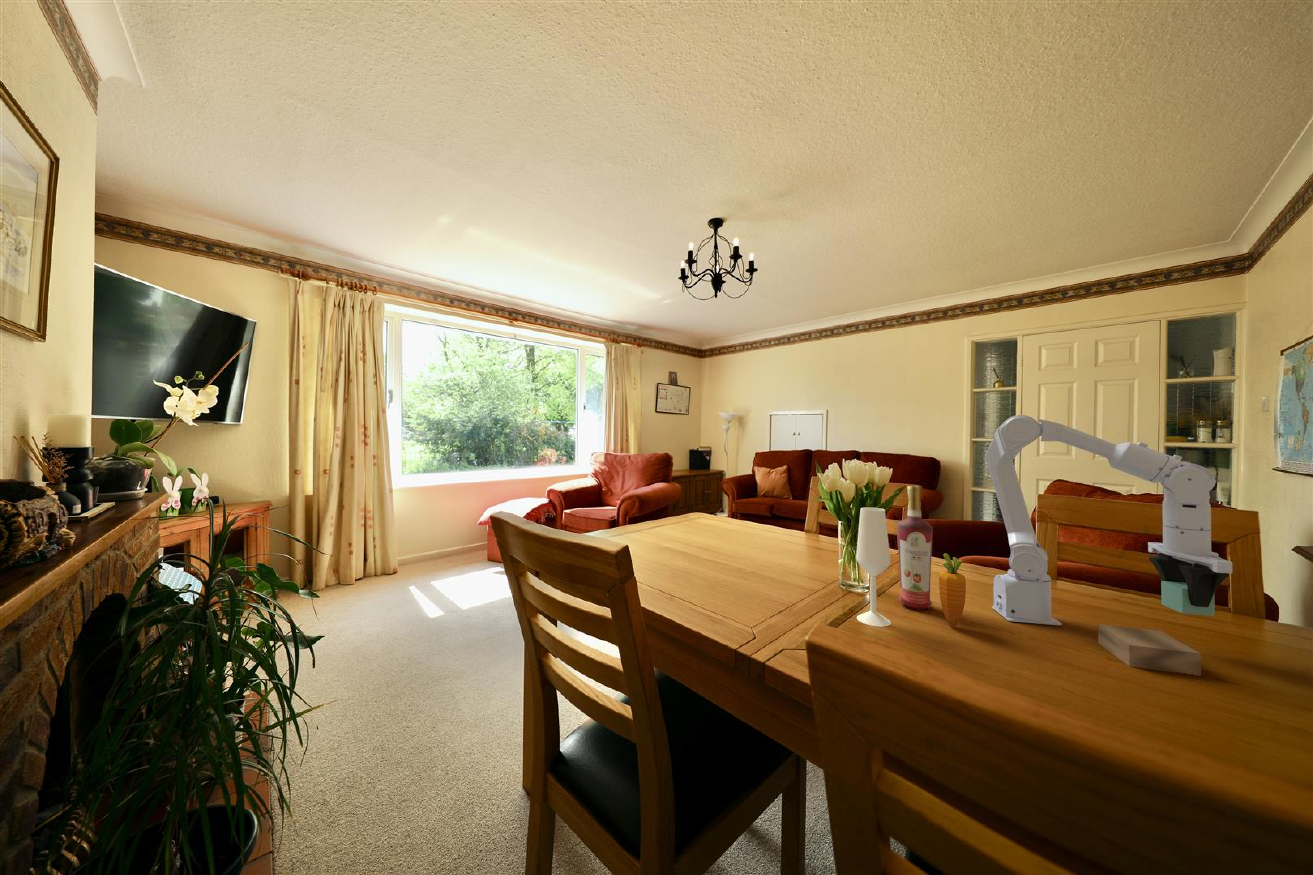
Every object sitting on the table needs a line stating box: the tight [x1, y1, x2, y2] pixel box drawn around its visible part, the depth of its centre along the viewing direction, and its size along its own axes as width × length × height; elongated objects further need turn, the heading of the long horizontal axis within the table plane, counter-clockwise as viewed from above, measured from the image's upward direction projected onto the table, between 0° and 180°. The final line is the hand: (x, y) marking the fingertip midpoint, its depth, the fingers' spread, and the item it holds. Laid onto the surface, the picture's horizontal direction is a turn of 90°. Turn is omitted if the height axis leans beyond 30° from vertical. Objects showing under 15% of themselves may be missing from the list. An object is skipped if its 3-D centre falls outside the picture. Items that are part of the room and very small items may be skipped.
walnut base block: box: [1097, 623, 1202, 677], centre depth 78 cm, size 9×9×4 cm
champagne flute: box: [855, 506, 892, 628], centre depth 95 cm, size 7×7×24 cm
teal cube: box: [1160, 580, 1216, 617], centre depth 81 cm, size 4×4×4 cm
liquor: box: [896, 485, 934, 611], centre depth 103 cm, size 7×7×28 cm
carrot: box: [938, 553, 967, 629], centre depth 91 cm, size 5×5×15 cm
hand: (1187, 601), depth 81 cm, fingers closed on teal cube, 4 cm apart
